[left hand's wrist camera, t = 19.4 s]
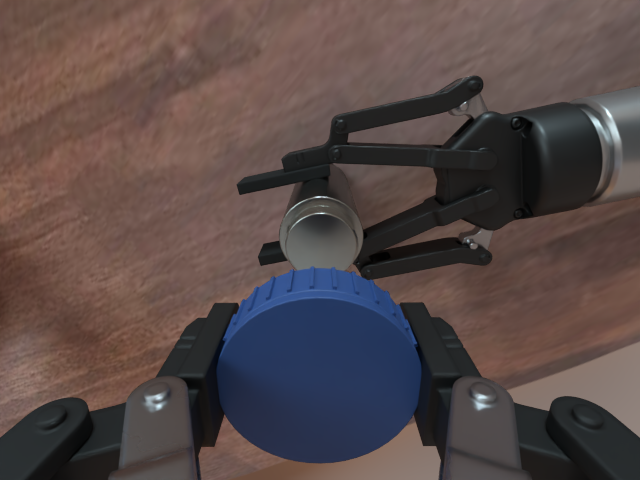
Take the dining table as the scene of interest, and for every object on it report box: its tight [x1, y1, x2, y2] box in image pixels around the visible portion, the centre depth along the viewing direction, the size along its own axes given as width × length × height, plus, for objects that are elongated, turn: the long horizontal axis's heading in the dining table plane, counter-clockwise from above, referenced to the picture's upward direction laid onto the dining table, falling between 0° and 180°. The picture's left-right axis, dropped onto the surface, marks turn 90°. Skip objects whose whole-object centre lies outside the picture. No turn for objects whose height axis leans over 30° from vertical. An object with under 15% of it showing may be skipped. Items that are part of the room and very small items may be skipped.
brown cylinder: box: [279, 164, 363, 271], centre depth 26 cm, size 5×5×15 cm
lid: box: [216, 266, 422, 463], centre depth 10 cm, size 6×6×2 cm
